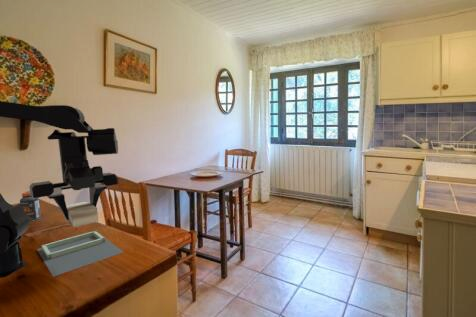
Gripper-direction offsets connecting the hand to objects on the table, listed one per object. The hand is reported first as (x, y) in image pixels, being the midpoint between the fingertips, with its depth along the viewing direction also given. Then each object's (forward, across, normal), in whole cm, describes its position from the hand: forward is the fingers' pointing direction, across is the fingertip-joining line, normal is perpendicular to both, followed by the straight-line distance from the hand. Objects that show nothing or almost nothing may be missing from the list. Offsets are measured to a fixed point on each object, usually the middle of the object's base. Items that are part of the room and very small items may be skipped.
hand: (80, 216), depth 69 cm
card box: (+1, 0, 0) cm, 1 cm away
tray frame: (+11, 0, +10) cm, 15 cm away
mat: (+11, 0, +5) cm, 13 cm away
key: (+12, -2, +34) cm, 36 cm away
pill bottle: (+12, -5, +55) cm, 57 cm away
